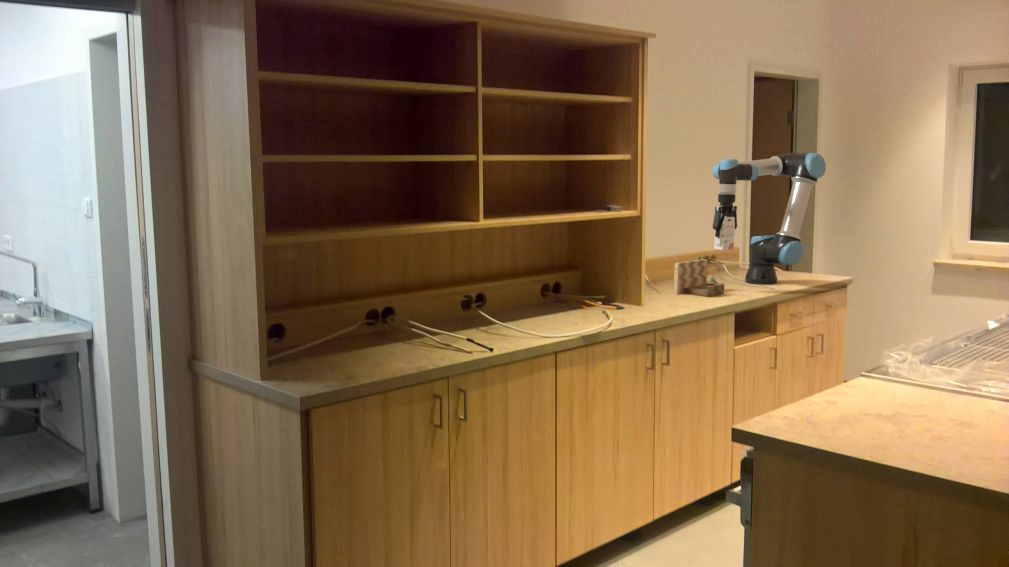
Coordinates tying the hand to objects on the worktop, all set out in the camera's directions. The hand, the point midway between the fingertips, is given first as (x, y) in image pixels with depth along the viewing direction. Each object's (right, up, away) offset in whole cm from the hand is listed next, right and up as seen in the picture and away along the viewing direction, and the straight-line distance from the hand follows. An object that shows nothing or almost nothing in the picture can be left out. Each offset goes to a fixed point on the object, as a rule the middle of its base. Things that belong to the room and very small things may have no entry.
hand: (723, 243), depth 383 cm
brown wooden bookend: (-10, -23, -2) cm, 25 cm away
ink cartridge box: (0, -3, 0) cm, 3 cm away
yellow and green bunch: (-5, -19, +25) cm, 31 cm away
